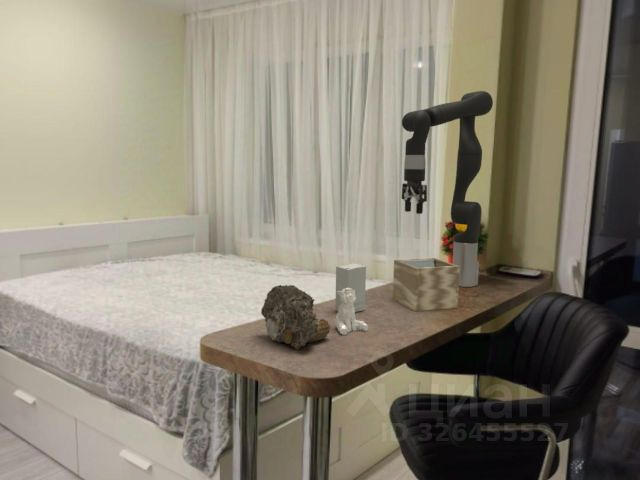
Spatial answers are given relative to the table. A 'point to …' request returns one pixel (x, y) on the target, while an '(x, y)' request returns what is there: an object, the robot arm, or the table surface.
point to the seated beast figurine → (348, 313)
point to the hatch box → (426, 285)
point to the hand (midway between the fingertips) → (413, 212)
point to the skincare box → (351, 283)
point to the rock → (292, 317)
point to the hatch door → (420, 263)
